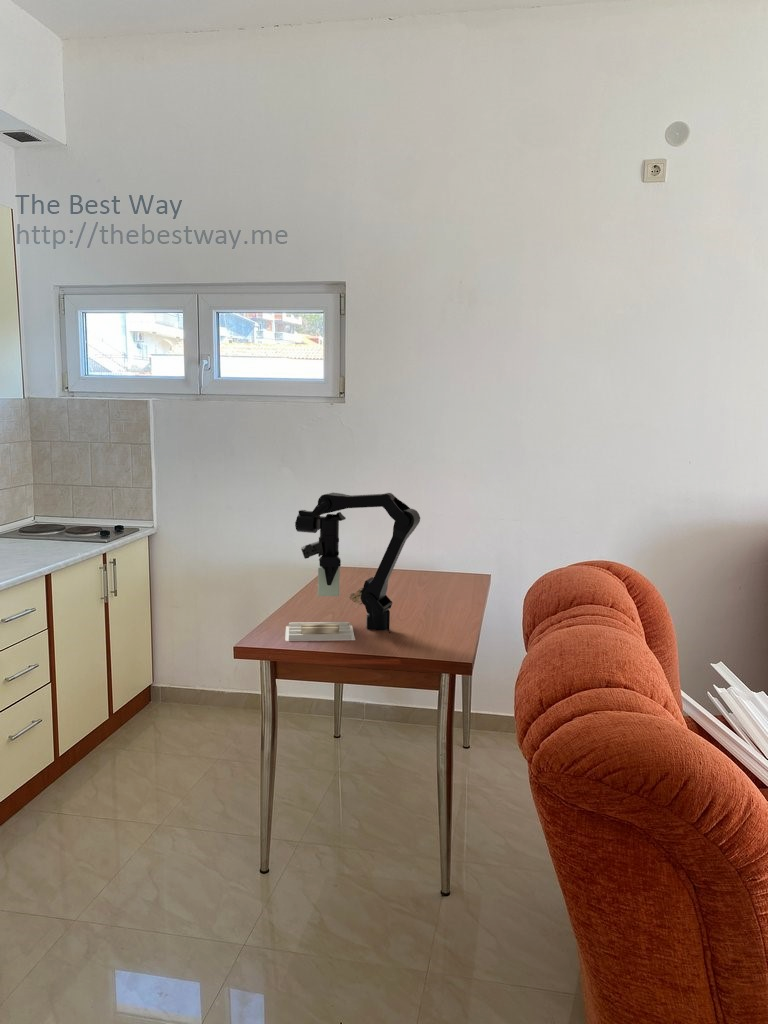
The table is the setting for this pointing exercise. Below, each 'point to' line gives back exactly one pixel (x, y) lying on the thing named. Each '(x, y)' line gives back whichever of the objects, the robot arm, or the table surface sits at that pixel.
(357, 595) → the wooden fragment
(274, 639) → the table surface
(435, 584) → the table surface
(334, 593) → the sage green block
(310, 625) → the offcut bundle
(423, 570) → the table surface
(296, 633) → the slot rack
